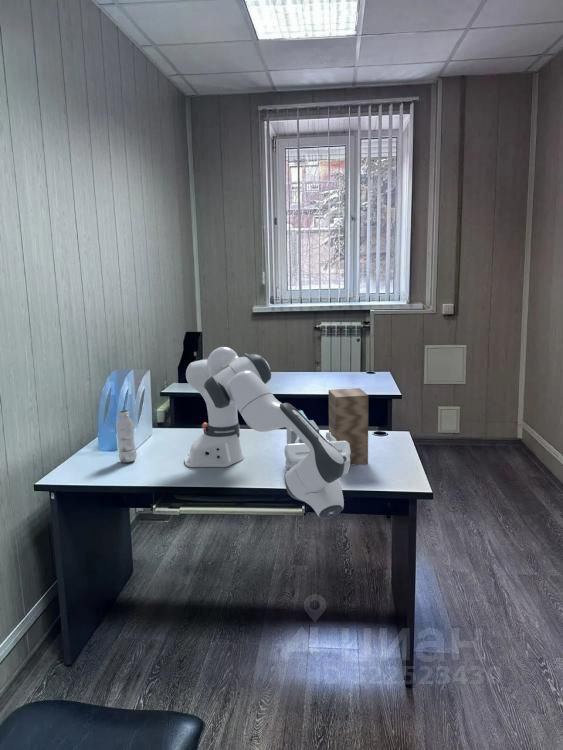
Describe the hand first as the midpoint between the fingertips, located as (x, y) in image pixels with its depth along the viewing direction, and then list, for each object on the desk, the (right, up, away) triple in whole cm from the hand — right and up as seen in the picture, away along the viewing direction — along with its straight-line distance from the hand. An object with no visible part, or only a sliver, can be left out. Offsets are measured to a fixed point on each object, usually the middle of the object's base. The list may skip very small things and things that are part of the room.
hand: (313, 434), depth 173 cm
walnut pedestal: (+15, -13, +32) cm, 38 cm away
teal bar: (-2, 0, +19) cm, 19 cm away
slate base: (-2, -15, +25) cm, 29 cm away
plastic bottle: (-69, -15, +36) cm, 79 cm away
